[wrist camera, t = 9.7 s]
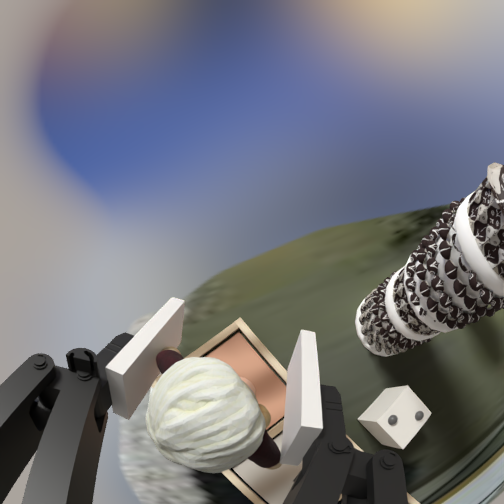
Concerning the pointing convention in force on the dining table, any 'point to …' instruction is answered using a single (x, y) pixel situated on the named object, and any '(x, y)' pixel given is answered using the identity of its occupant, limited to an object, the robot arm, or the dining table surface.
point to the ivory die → (395, 416)
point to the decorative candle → (442, 276)
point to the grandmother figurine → (207, 415)
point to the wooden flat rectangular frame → (267, 394)
